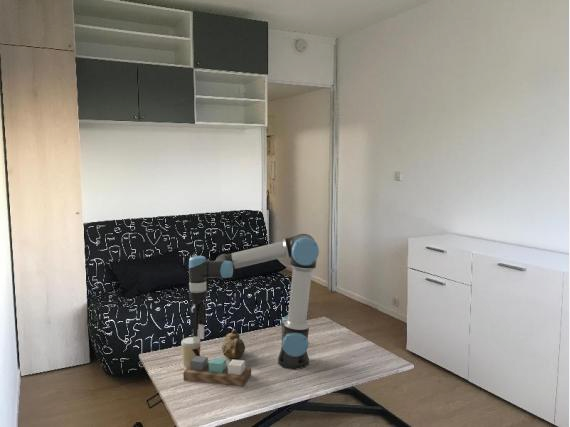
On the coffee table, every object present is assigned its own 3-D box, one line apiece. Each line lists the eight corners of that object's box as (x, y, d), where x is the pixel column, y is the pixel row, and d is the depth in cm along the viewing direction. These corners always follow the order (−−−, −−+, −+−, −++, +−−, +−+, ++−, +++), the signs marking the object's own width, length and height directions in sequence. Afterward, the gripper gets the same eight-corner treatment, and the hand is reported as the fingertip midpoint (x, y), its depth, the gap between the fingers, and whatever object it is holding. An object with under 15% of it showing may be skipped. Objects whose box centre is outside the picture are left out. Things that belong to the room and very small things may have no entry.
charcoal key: (207, 367, 218) (207, 356, 217) (202, 372, 212) (202, 362, 211) (195, 366, 219) (195, 355, 219) (190, 371, 213) (190, 360, 213)
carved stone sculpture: (218, 352, 243) (218, 323, 242) (240, 349, 247) (240, 321, 245) (226, 368, 223) (226, 338, 222) (250, 365, 227) (250, 335, 225)
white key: (244, 371, 213) (244, 360, 213) (240, 377, 208) (240, 366, 207) (232, 370, 215) (232, 359, 214) (227, 375, 209) (227, 364, 209)
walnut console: (251, 375, 216) (251, 366, 216) (242, 387, 205) (242, 378, 204) (194, 369, 223) (194, 361, 222) (183, 380, 211) (183, 371, 211)
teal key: (226, 369, 216) (226, 358, 215) (221, 374, 210) (221, 364, 209) (214, 368, 217) (213, 357, 216) (208, 373, 211) (208, 362, 211)
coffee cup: (196, 369, 223) (196, 344, 222) (178, 367, 225) (177, 343, 224) (204, 361, 232) (203, 337, 231) (186, 359, 234) (185, 336, 233)
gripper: (198, 285, 221) (199, 333, 223) (181, 295, 204) (182, 347, 206) (213, 286, 219) (213, 334, 222) (197, 296, 202) (198, 348, 205)
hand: (198, 340), depth 214 cm, fingers open, 4 cm apart
